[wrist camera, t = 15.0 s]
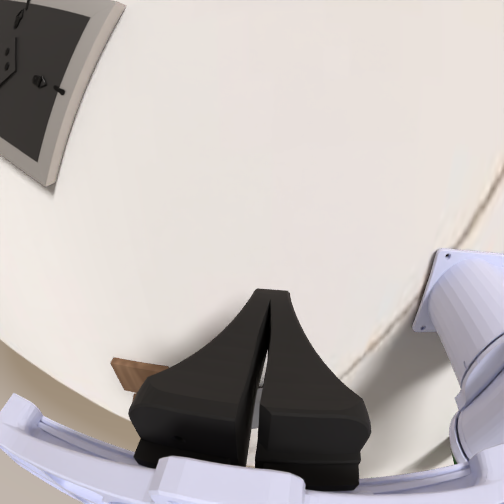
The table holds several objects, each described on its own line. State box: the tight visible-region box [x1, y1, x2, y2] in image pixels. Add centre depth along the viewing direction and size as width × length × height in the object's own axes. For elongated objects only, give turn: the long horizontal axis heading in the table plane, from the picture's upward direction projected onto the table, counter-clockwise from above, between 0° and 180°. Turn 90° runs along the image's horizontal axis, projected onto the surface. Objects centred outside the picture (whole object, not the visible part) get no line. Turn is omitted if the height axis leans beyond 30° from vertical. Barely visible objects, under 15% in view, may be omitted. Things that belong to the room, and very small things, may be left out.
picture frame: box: [0, 0, 126, 187], centre depth 17 cm, size 16×3×21 cm
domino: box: [111, 358, 169, 393], centre depth 32 cm, size 2×5×7 cm
